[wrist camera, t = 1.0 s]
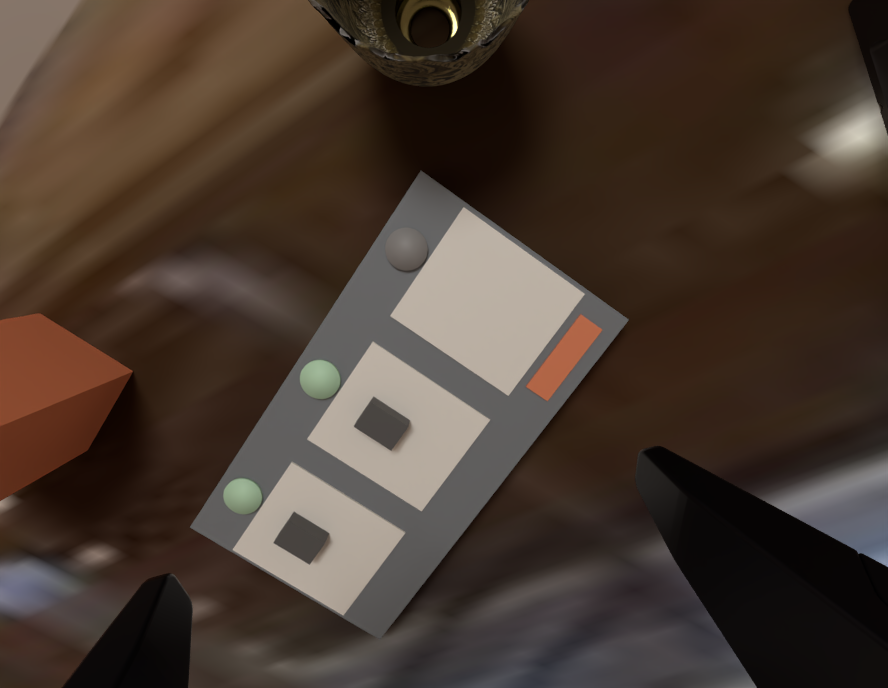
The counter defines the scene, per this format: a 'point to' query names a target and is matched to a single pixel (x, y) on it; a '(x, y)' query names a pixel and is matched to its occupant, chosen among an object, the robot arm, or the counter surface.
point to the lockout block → (49, 398)
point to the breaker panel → (407, 409)
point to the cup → (393, 49)
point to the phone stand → (874, 45)
